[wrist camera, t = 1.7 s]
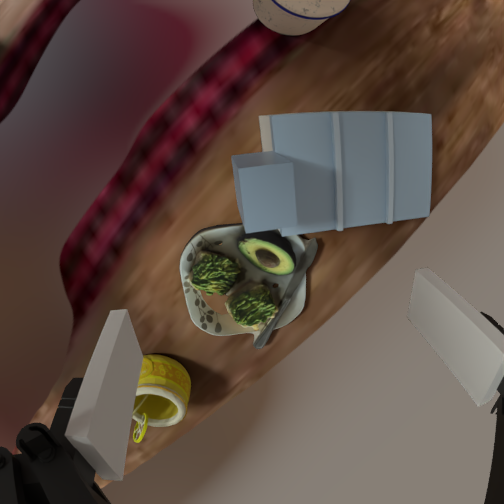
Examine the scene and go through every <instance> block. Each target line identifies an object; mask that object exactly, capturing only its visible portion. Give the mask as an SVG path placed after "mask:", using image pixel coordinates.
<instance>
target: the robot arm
mask: <svg viewBox="0 0 504 504" xmlns="http://www.w3.org/2000/svg"><path fill="white" fill-rule="evenodd" d="M407 318H408V319H409V320H410V322H411V323H412V324H413V325H414V326H415V328H416V329H417V330H418V331H419V332H420V333H421V335H422V336H423V337H424V338H425V340H426V341H427V342H428V343H429V344H430V346H431V347H432V348H433V349H434V350H435V352H436V353H437V354H438V355H439V357H440V358H441V359H442V360H443V362H444V363H445V364H446V365H447V367H448V368H449V369H450V370H451V372H452V373H453V374H454V376H455V377H456V378H457V380H458V381H459V382H460V383H461V385H462V386H463V387H464V389H465V390H466V391H467V393H468V394H469V395H470V397H471V398H472V399H473V401H474V402H475V403H476V405H477V406H478V407H479V406H481V405H483V404H485V403H487V402H489V401H491V399H492V398H493V396H494V394H495V392H496V390H498V392H499V393H500V396H499V398H498V400H497V401H496V403H495V405H494V406H493V408H492V410H491V413H493V412H494V411H495V409H496V408H497V413H496V414H497V422H496V433H495V443H494V451H493V459H492V465H491V472H490V477H489V483H488V488H487V493H486V498H485V502H484V504H504V328H502V327H501V326H500V325H498V323H497V322H496V321H495V320H494V319H493V318H492V317H490V316H489V315H487V314H485V313H483V312H479V311H477V310H476V309H475V308H474V307H473V306H472V305H471V304H470V303H469V302H467V301H466V300H465V299H464V298H463V297H462V296H461V295H460V294H459V293H457V292H456V291H455V290H454V289H453V288H452V287H450V286H449V285H448V284H447V283H446V282H445V281H443V280H442V279H441V278H440V277H439V276H438V275H436V274H435V273H434V272H433V271H431V270H430V269H429V268H428V267H427V268H422V269H417V270H415V276H414V282H413V287H412V294H411V299H410V304H409V309H408V314H407ZM142 362H143V355H142V352H141V349H140V347H139V344H138V341H137V338H136V335H135V332H134V329H133V326H132V323H131V320H130V317H129V314H128V311H127V309H123V310H112V311H110V314H109V316H108V318H107V321H106V323H105V326H104V328H103V330H102V333H101V335H100V338H99V340H98V343H97V345H96V348H95V350H94V353H93V355H92V358H91V360H90V363H89V366H88V368H87V371H86V374H85V376H84V378H73V379H72V380H71V381H70V383H69V384H68V385H67V386H66V387H65V390H64V392H63V395H62V397H61V398H62V400H60V403H59V405H58V407H59V408H57V411H56V413H55V416H54V419H53V422H52V424H51V427H50V430H49V429H48V428H47V426H46V425H44V424H41V423H31V424H29V425H26V426H25V427H24V428H22V429H21V431H20V432H19V434H18V436H17V439H16V446H17V448H18V449H19V450H20V451H21V453H22V454H16V455H12V454H11V453H10V452H9V451H8V449H6V448H4V447H0V504H111V503H110V502H109V500H108V499H107V498H106V496H105V495H104V493H103V492H102V490H101V489H100V488H99V486H98V485H97V483H96V482H95V481H94V477H95V472H96V473H97V474H98V475H99V476H100V477H101V478H102V479H106V480H118V481H122V480H123V472H124V465H125V458H126V451H127V444H128V438H129V432H130V426H131V420H132V414H133V408H134V403H135V397H136V392H137V387H138V382H139V377H140V372H141V367H142Z"/></svg>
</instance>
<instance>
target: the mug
mask: <svg viewBox="0 0 504 504" xmlns="http://www.w3.org/2000/svg"><path fill="white" fill-rule="evenodd" d="M190 390H191V380H190V377H189V374H188V372H187V371H186V369H185V368H184V367H183V366H182V365H181V364H180V363H178V362H177V361H176V360H174V359H171V358H169V357H166V356H162V355H152V354H150V355H144V356H143V362H142V367H141V372H140V377H139V382H138V387H137V392H136V397H135V403H134V408H133V414H132V418H134V419H135V420H136V421H137V424H136V427H135V430H134V435H133V438H134V441H135V442H137V443H138V442H140V441H141V440H142V438H143V436H144V434H145V432H146V429H147V425H149V426H155V427H167V426H171V425H174V424H177V423H178V422H180V421H182V420H183V419H184V418H185V416H186V414H187V405H188V401H189V397H190ZM139 424H141V427H143V430H142V433H141V432H140V435H139V438H138V439H137V434H138V432H139V431H140V430H141V429H140V428H139V431H138V432H137V430H138V427H140V426H139ZM143 424H144V426H142V425H143Z"/></svg>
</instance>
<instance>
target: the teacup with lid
mask: <svg viewBox="0 0 504 504" xmlns="http://www.w3.org/2000/svg"><path fill="white" fill-rule="evenodd" d="M349 2H350V0H253V6H254V11H255V13H256V15H257V17H258V18H259V20H260V21H261V22H262V23H263V24H264V25H265V26H266V27H268V28H269V29H271V30H273V31H275V32H277V33H280V34H284V35H302V34H305V33H308V32H310V31H312V30H314V29H315V28H316V27H318V26H319V25H320V24H322V23H323V22H324V21H326V20H327V19H328V18H331V17H334V16H336V15H338V14H339V13H341V12H342V11H343V10H344V9H345V8H346V7H347V6H348V4H349Z"/></svg>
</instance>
